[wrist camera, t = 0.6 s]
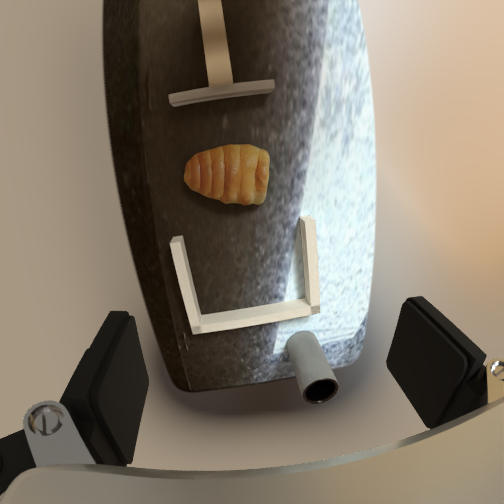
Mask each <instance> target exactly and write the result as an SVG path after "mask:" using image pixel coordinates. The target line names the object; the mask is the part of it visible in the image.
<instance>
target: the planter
mask: <svg viewBox="0 0 504 504" xmlns="http://www.w3.org/2000/svg"><path fill="white" fill-rule="evenodd" d="M287 351H288V354H289V357H290V360H291V363H292V366H293V369H294V372H295V375H296V379H297V382H298V385H299V388H300V391H301V394H302V397H303V399H304V400H305V401H306V402H308V403H310V404H319V403H323V402H325V401H328V400H330V399H331V398H332V397H333V396H334V395H335V394H336V393H337V391H338V388H339V386H338V382H337V380H336V378H335V376H334V374H333V371H332V369H331V367H330V365H329V363H328V361H327V359H326V357H325V355H324V353H323V350H322V348H321V346H320V344H319V342H318V340H317V338H316V336H315V335H314V334H313V333H311V332H308V331H301V332H297V333H295V334H294V335H292V336H291V337H290V338H289V340H288V342H287Z"/></svg>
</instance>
